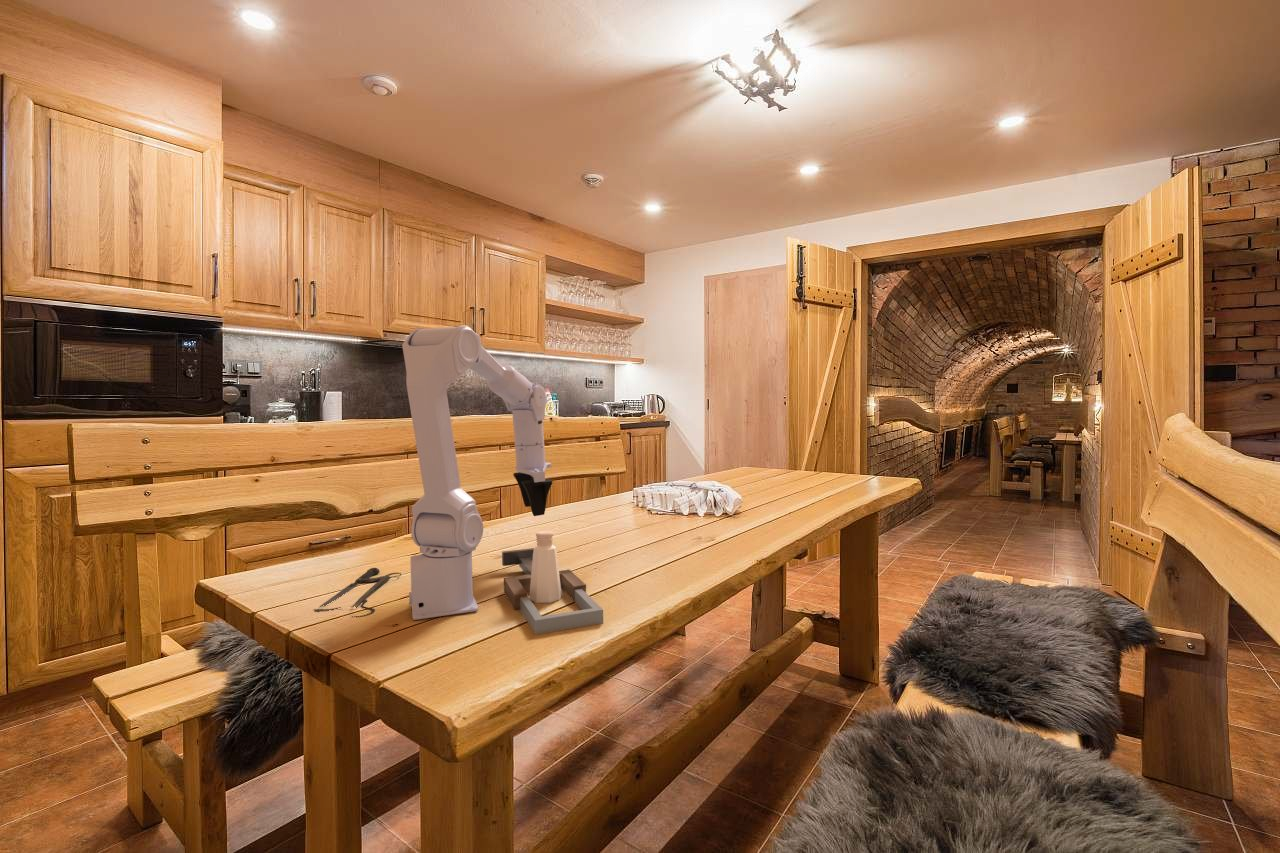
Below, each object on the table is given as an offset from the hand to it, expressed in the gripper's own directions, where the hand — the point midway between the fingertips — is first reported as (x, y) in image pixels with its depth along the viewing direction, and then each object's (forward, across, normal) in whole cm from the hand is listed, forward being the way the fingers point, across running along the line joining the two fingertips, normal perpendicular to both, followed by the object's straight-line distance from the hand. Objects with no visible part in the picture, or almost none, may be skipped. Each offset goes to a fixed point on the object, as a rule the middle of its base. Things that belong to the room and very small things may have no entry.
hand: (534, 510), depth 115 cm
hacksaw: (+9, -6, +31) cm, 33 cm away
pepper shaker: (+9, -22, +4) cm, 24 cm away
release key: (+9, -11, +4) cm, 14 cm away
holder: (+9, -22, +4) cm, 24 cm away
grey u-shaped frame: (+8, -31, +4) cm, 32 cm away
